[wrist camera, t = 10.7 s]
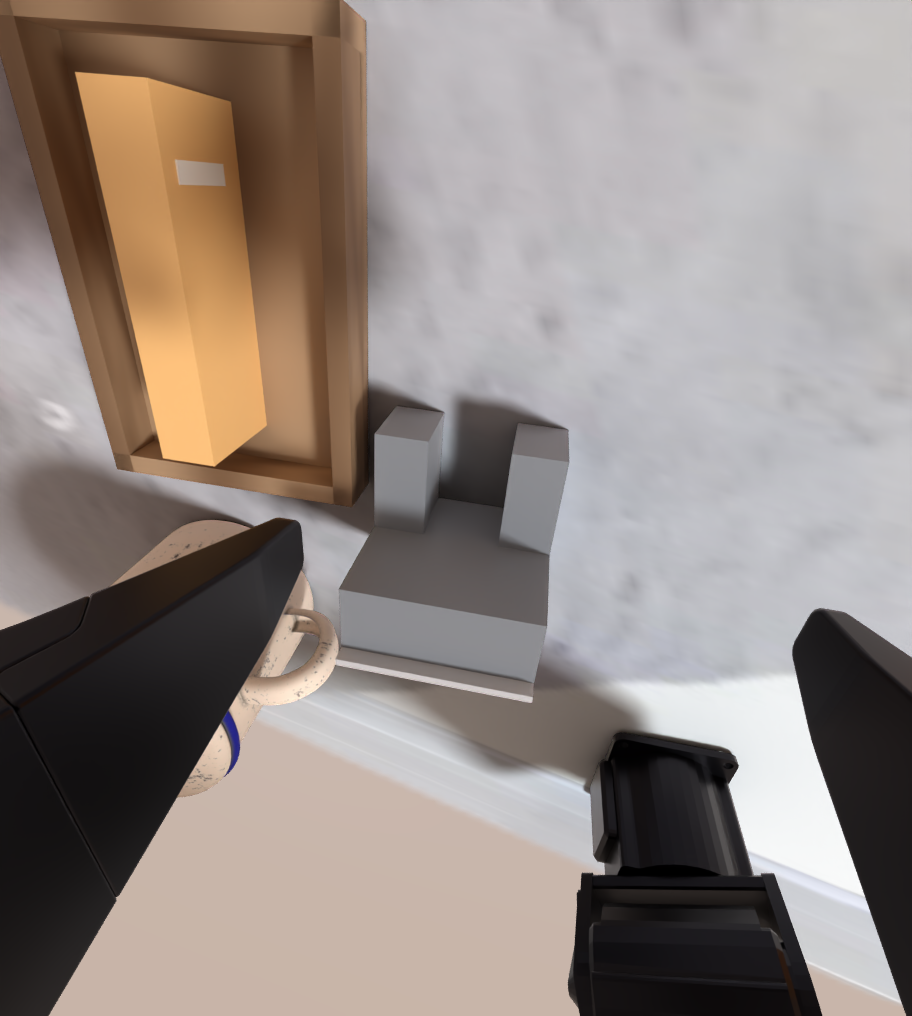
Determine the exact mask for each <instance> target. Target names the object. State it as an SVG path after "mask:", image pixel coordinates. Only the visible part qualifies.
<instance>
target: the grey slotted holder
mask: <svg viewBox="0 0 912 1016" xmlns="http://www.w3.org/2000/svg"><path fill="white" fill-rule="evenodd" d="M443 424H444V412H437V411H429V410H422V409H415V408H408V407H401V406H396V407H395V408H394V410H393V411H392V412H391V413H390V415H389V416H388V417H387V419H386V420H385V421H384V422H383V424H382V425H381V426H380V427H379V429H378V430H377V431H376V433H375V442H374V528H373V530H372V531H371V533H370V535H369V537H368V538H367V540H366V542H365V544H364V546H363V547H362V549H361V551H360V553H359V554H358V556H357V558H356V560H355V561H354V563H353V565H352V567H351V568H350V570H349V572H348V574H347V576H346V577H345V579H344V581H343V583H342V584H341V586H340V588H339V606H340V629H341V648H340V650H339V652H338V655H337V657H336V659H335V663H336V665H338V666H343V667H349V668H354V669H359V670H364V671H369V672H374V673H379V674H384V675H390V676H395V677H400V678H405V679H410V680H415V681H420V682H426V683H431V684H436V685H441V686H446V687H451V688H456V689H462V690H467V691H472V692H477V693H482V694H487V695H492V696H498V697H503V698H508V699H513V700H518V701H523V702H528V703H532V700H533V691H534V681H535V677H536V672H537V668H538V664H539V659H540V655H541V651H542V646H543V642H544V638H545V633H546V629H547V614H548V583H549V555H550V550H551V545H552V541H553V536H554V531H555V527H556V522H557V517H558V513H559V508H560V503H561V499H562V494H563V489H564V484H565V480H566V475H567V470H568V466H569V438H568V430H565V429H558V428H551V427H544V426H537V425H529V424H522V423H518V425H517V431H516V436H515V441H514V446H513V452H512V458H511V464H510V471H509V478H508V484H507V491H506V498H505V504H504V508H501V507H495V506H488V505H482V504H476V503H469V502H463V501H456V500H450V499H444V498H438V493H439V479H440V465H441V452H442V438H443Z"/></svg>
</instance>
